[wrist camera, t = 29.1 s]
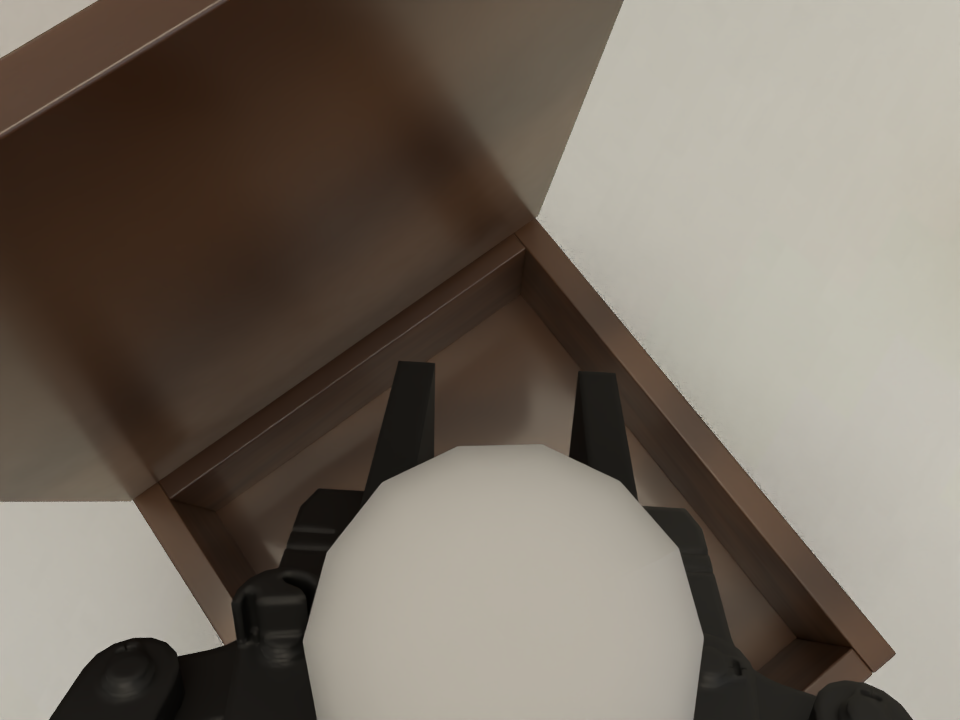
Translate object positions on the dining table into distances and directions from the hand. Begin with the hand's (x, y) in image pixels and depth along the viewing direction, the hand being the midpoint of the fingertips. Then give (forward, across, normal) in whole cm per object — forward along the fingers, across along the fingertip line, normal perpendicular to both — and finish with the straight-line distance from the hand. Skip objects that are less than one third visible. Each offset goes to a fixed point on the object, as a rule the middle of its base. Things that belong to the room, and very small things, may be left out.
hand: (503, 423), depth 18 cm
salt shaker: (0, 0, -6) cm, 6 cm away
